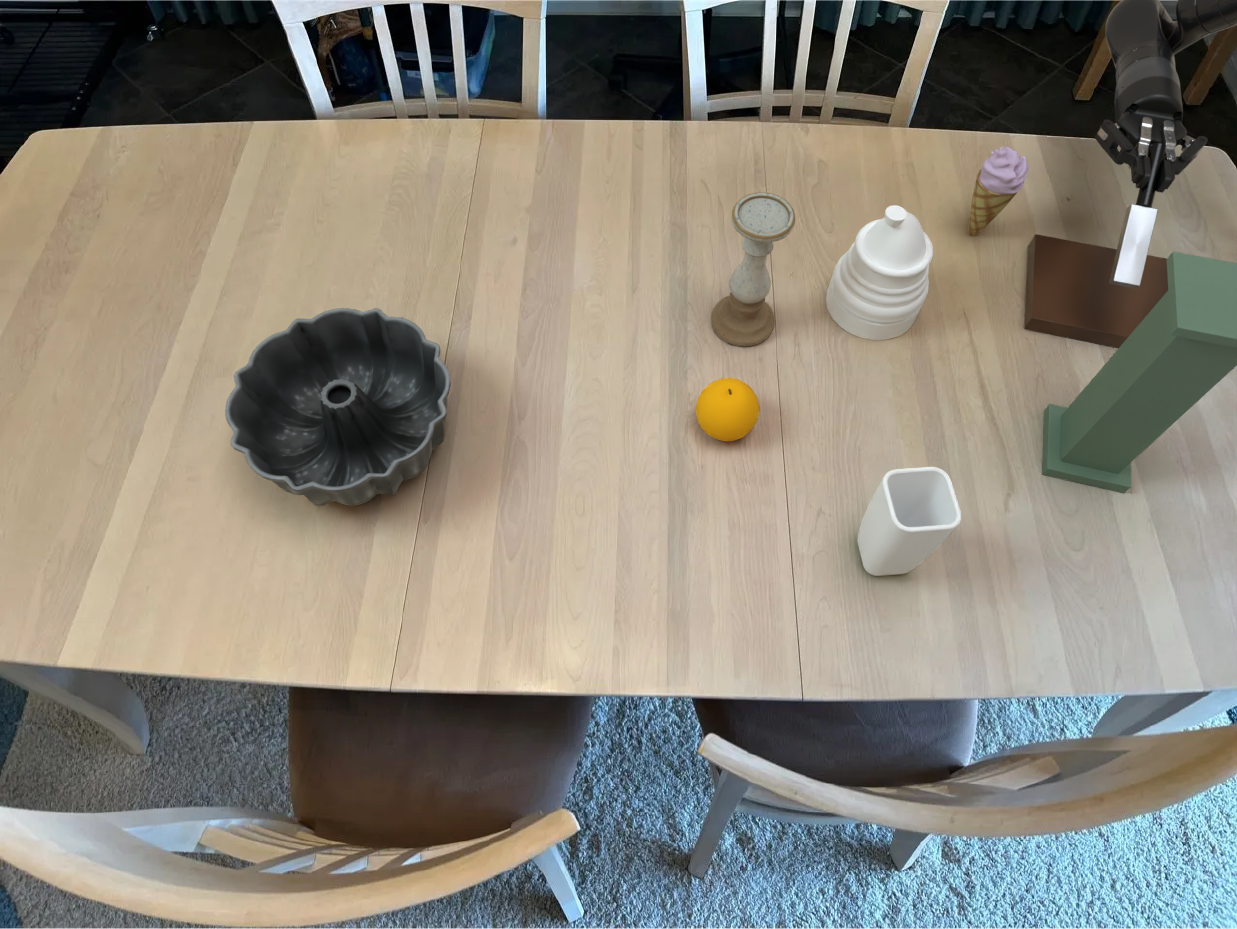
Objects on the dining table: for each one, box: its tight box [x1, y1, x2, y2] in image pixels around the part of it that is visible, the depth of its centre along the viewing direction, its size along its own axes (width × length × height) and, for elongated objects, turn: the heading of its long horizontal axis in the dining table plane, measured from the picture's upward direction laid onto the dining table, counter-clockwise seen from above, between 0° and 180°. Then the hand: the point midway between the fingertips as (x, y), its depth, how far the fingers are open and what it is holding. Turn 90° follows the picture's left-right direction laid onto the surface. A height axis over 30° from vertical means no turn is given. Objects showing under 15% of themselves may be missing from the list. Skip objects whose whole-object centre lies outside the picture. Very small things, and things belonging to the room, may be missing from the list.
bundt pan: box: [224, 307, 452, 507], centre depth 104 cm, size 26×26×10 cm
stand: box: [1041, 251, 1237, 494], centre depth 94 cm, size 10×10×30 cm
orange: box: [695, 377, 761, 442], centre depth 106 cm, size 8×8×8 cm
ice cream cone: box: [967, 145, 1030, 237], centre depth 119 cm, size 7×6×15 cm
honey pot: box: [825, 204, 934, 341], centre depth 111 cm, size 13×13×18 cm
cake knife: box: [1109, 143, 1166, 289], centre depth 106 cm, size 3×18×2 cm, turn 165°
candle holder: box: [710, 191, 796, 347], centre depth 108 cm, size 9×9×20 cm
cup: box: [856, 466, 962, 577], centre depth 94 cm, size 7×7×15 cm
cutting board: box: [1023, 233, 1168, 349], centre depth 118 cm, size 20×16×2 cm
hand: (1153, 184), depth 104 cm, fingers closed on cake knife, 2 cm apart
